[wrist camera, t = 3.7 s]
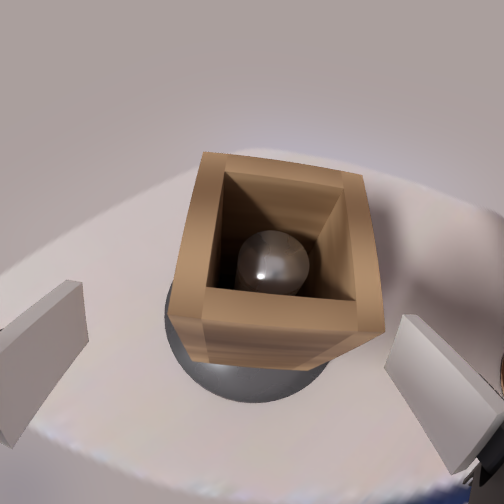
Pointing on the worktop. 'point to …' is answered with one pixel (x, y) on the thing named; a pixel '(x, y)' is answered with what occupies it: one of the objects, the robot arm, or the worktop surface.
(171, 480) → the worktop surface
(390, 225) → the worktop surface
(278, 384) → the post stand
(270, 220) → the sleeve
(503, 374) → the coffee cup
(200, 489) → the worktop surface
